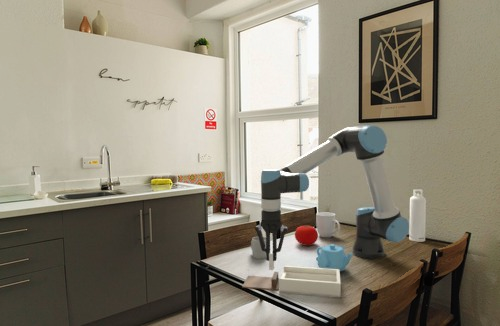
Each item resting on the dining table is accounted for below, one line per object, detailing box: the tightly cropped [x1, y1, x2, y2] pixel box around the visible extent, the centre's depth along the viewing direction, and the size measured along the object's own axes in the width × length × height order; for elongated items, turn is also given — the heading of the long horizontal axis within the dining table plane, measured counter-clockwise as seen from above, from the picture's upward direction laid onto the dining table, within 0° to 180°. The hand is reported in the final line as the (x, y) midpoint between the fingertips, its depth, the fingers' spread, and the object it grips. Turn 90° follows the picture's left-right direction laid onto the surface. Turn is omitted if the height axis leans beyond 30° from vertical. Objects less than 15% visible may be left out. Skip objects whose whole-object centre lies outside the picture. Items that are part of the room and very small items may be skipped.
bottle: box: [408, 188, 427, 243], centre depth 194 cm, size 8×8×28 cm
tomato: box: [294, 224, 319, 246], centre depth 188 cm, size 11×12×10 cm
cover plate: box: [241, 271, 280, 291], centre depth 138 cm, size 14×11×4 cm
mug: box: [315, 211, 341, 238], centre depth 203 cm, size 15×11×13 cm
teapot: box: [316, 243, 354, 272], centre depth 150 cm, size 15×14×11 cm
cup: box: [250, 236, 266, 260], centre depth 171 cm, size 7×10×9 cm
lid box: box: [278, 265, 342, 298], centre depth 134 cm, size 22×14×5 cm, turn 77°
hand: (271, 268), depth 137 cm, fingers closed
